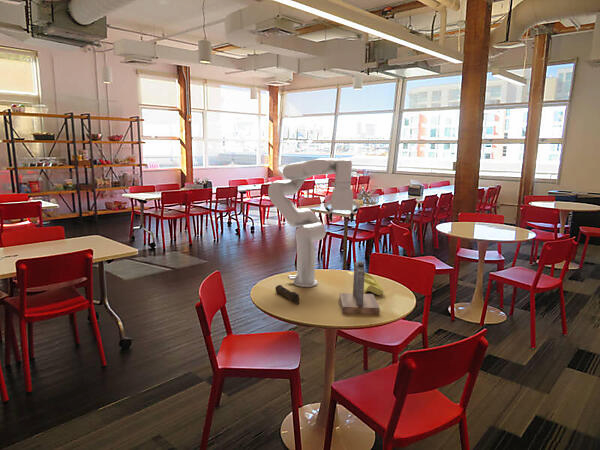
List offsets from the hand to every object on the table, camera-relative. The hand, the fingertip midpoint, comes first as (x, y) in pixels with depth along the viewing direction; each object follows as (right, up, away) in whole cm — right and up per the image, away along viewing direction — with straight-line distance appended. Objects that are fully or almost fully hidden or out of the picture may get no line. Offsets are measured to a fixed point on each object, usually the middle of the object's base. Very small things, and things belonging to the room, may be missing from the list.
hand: (341, 221), depth 197 cm
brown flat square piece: (+7, -39, -9) cm, 40 cm away
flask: (+7, -36, -9) cm, 38 cm away
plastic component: (+15, -35, +14) cm, 41 cm away
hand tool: (-25, -37, 0) cm, 44 cm away
